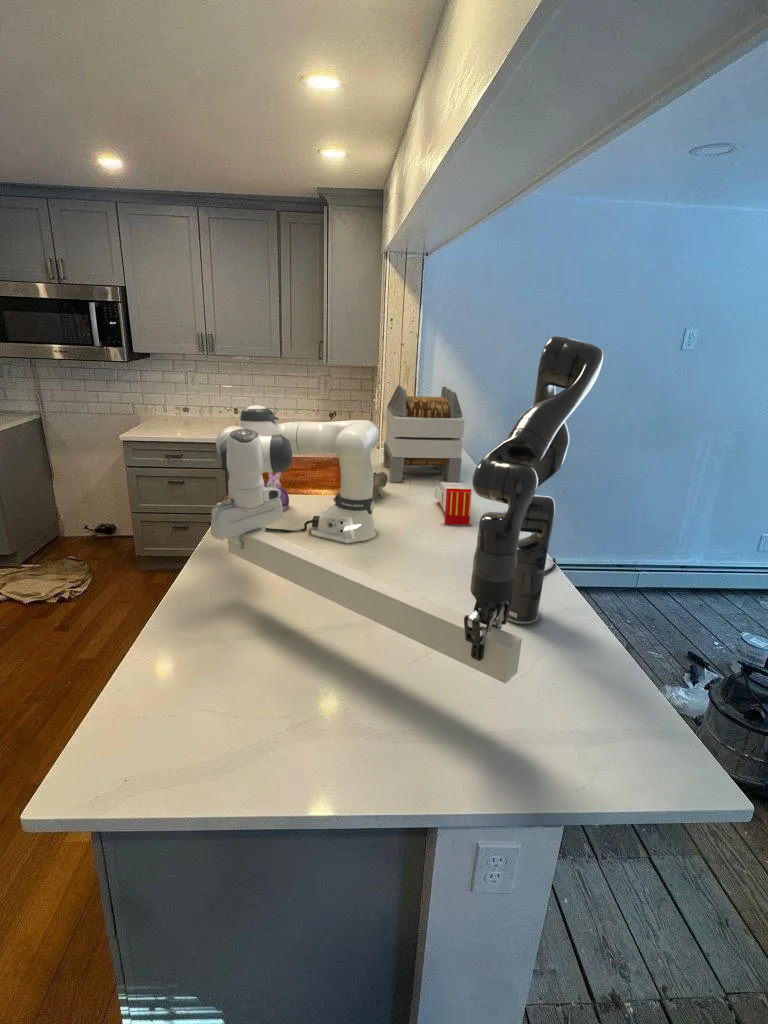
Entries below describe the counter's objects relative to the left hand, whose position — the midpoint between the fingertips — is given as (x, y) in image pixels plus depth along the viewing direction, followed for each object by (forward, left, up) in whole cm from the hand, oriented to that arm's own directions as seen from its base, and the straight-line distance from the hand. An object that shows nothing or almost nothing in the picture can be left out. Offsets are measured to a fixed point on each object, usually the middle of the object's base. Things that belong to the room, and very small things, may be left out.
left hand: (249, 545), depth 147 cm
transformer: (+15, +139, -15) cm, 141 cm away
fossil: (+4, +95, -15) cm, 97 cm away
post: (+32, -14, -3) cm, 35 cm away
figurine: (-25, +66, -15) cm, 72 cm away
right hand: (+64, -28, 0) cm, 70 cm away
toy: (+39, +88, -15) cm, 98 cm away
